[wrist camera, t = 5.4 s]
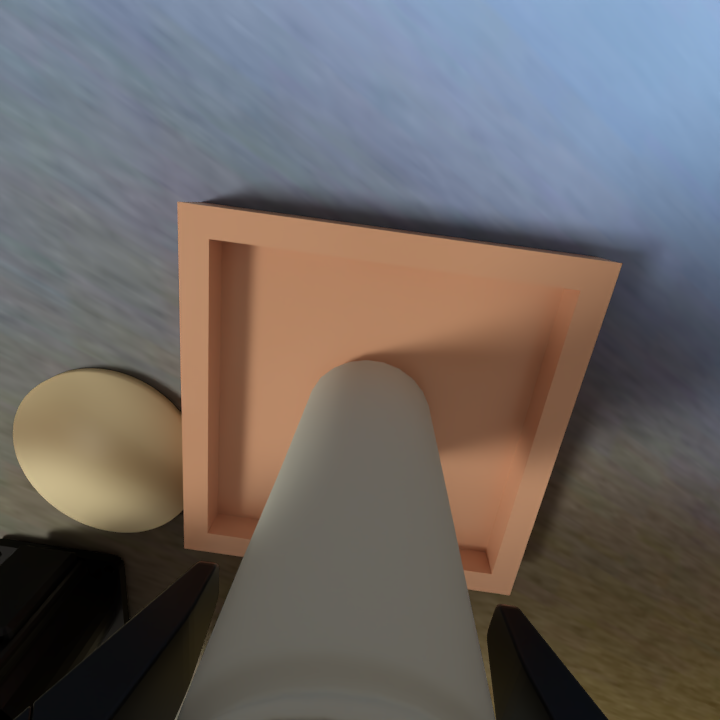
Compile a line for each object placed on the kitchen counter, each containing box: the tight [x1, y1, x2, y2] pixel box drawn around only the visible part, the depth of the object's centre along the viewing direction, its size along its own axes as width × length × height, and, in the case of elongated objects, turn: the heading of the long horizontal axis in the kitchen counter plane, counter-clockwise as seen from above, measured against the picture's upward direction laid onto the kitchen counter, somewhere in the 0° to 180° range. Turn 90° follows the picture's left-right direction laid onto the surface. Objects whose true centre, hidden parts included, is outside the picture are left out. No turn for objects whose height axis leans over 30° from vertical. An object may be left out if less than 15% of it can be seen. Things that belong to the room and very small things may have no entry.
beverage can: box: [177, 360, 495, 720], centre depth 11 cm, size 5×5×12 cm
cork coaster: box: [13, 368, 184, 533], centre depth 19 cm, size 8×8×1 cm
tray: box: [178, 202, 622, 595], centre depth 17 cm, size 14×14×2 cm
